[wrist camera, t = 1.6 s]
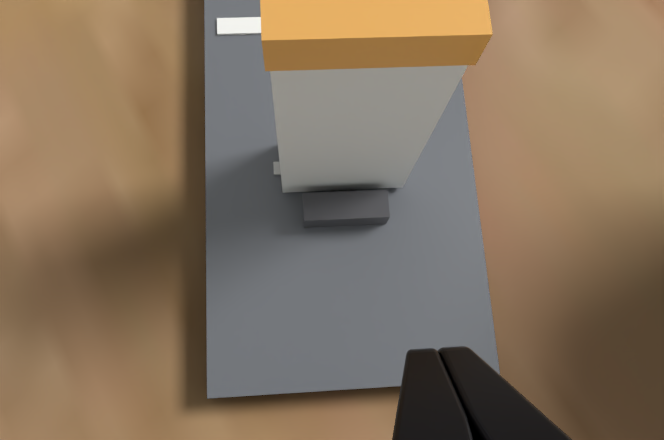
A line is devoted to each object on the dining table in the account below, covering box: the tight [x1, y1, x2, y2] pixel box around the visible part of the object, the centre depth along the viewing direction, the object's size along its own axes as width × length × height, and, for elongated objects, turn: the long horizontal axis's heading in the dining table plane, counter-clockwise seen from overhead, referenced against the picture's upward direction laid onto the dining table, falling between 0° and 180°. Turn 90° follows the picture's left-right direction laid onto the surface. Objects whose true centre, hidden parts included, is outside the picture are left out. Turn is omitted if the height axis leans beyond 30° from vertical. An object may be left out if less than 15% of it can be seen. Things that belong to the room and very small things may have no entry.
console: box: [204, 0, 500, 399], centre depth 22 cm, size 18×10×2 cm, turn 3°
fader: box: [260, 0, 493, 193], centre depth 17 cm, size 2×5×10 cm, turn 94°
